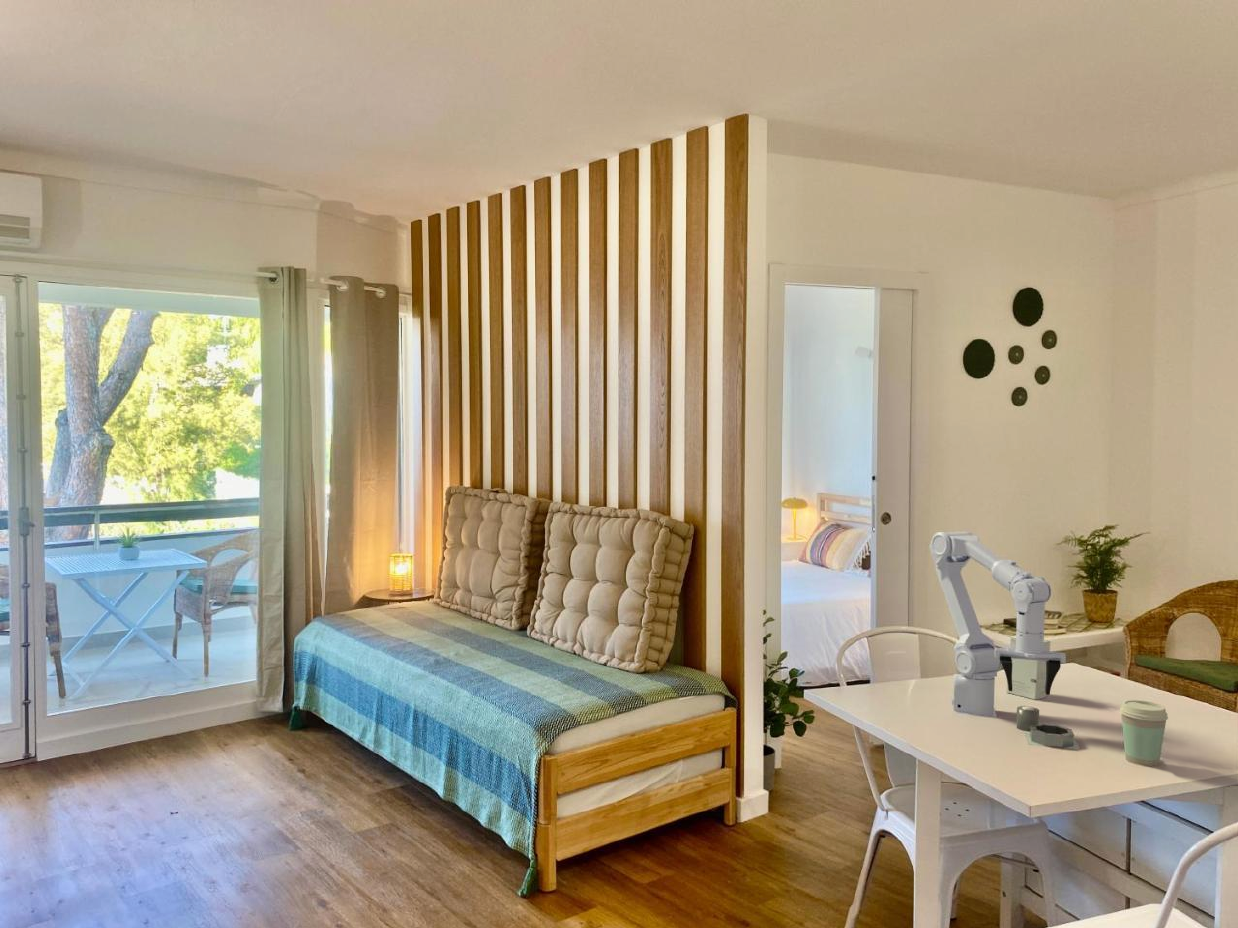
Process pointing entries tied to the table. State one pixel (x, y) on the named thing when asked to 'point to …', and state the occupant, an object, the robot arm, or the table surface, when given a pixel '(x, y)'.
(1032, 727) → the octagonal ring mount
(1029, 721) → the cap
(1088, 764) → the table surface
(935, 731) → the table surface
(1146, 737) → the coffee cup
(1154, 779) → the table surface
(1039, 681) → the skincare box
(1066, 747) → the plate
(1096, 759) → the table surface
